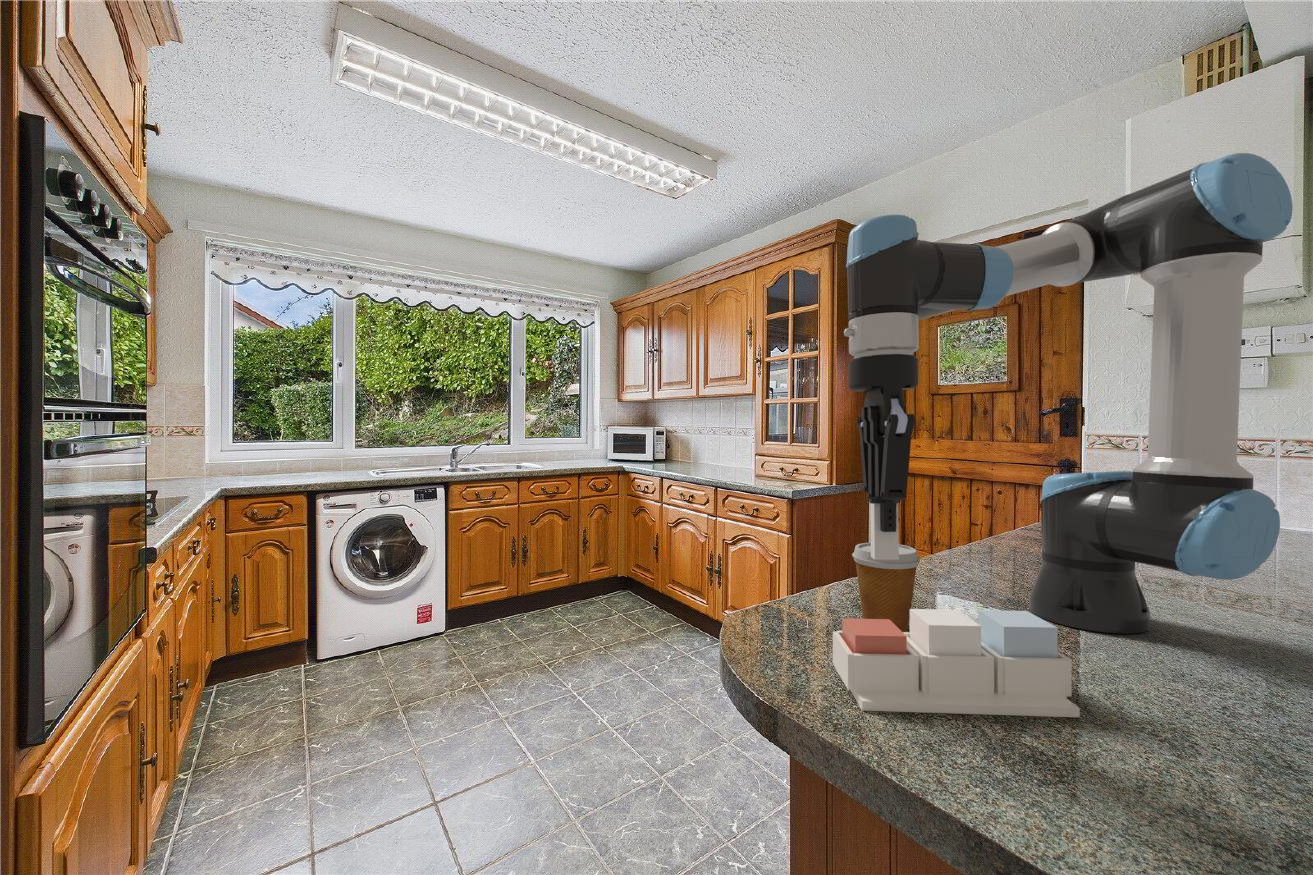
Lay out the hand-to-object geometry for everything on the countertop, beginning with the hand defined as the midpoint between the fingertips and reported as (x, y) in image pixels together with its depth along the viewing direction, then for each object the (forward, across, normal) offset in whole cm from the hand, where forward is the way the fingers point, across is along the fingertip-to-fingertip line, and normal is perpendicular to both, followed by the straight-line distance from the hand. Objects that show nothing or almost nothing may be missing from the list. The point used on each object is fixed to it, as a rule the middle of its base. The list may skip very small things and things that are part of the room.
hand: (884, 557), depth 64 cm
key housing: (+15, 0, +6) cm, 16 cm away
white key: (+11, 0, +7) cm, 13 cm away
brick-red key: (+12, 0, -1) cm, 12 cm away
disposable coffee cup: (+15, -20, +6) cm, 26 cm away
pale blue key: (+11, 0, +15) cm, 18 cm away
